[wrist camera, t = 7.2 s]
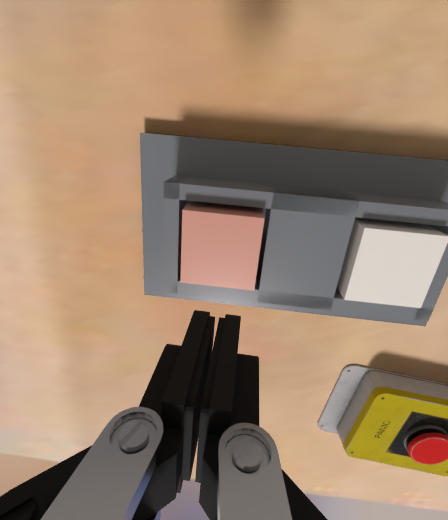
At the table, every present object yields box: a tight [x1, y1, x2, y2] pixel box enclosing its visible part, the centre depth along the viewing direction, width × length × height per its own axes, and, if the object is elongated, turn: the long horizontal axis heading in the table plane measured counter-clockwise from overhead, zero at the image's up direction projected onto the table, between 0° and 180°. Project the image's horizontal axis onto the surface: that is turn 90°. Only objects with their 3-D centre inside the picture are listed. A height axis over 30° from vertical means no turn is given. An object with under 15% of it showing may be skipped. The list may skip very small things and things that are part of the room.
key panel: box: [140, 133, 448, 326], centre depth 22 cm, size 24×13×4 cm, turn 85°
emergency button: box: [318, 365, 448, 476], centre depth 29 cm, size 9×4×15 cm
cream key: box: [337, 217, 448, 308], centre depth 20 cm, size 5×5×3 cm
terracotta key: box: [180, 201, 265, 291], centre depth 20 cm, size 5×5×3 cm
